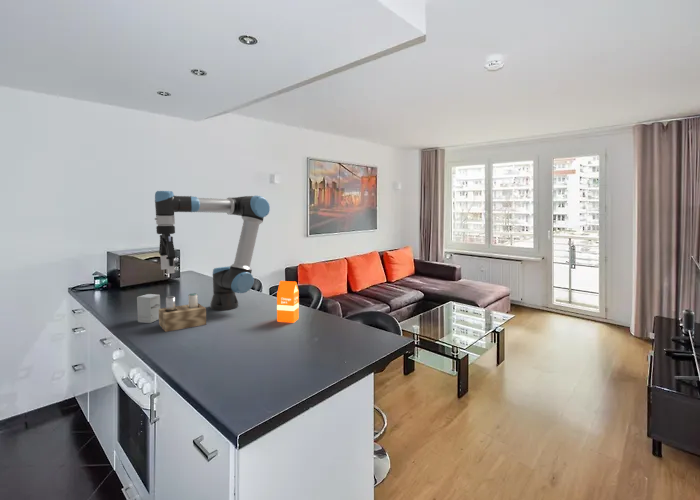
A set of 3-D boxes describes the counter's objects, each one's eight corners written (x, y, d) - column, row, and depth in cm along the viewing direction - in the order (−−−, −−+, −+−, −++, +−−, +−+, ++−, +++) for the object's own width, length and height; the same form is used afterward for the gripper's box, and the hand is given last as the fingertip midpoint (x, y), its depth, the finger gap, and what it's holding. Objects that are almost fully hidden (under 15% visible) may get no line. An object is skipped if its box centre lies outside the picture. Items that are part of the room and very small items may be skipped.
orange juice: (293, 323, 180) (293, 283, 178) (276, 321, 182) (276, 282, 180) (298, 318, 188) (298, 280, 186) (282, 317, 189) (282, 279, 187)
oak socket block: (198, 318, 185) (197, 303, 184) (206, 324, 176) (205, 308, 175) (159, 325, 173) (158, 308, 173) (165, 331, 164) (164, 314, 163)
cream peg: (196, 309, 180) (195, 292, 179) (199, 311, 177) (198, 294, 176) (187, 310, 177) (187, 293, 176) (190, 312, 174) (189, 295, 173)
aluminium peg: (174, 312, 174) (174, 295, 173) (176, 314, 170) (176, 297, 170) (165, 314, 171) (164, 296, 170) (167, 316, 168) (166, 298, 167)
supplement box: (150, 323, 176) (149, 297, 175) (137, 322, 178) (136, 296, 176) (161, 319, 183) (160, 294, 182) (148, 318, 185) (147, 293, 184)
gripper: (150, 224, 174) (153, 268, 176) (162, 226, 154) (165, 275, 157) (168, 224, 178) (170, 267, 181) (181, 226, 159) (183, 274, 161)
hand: (167, 271), depth 169 cm, fingers open, 13 cm apart
